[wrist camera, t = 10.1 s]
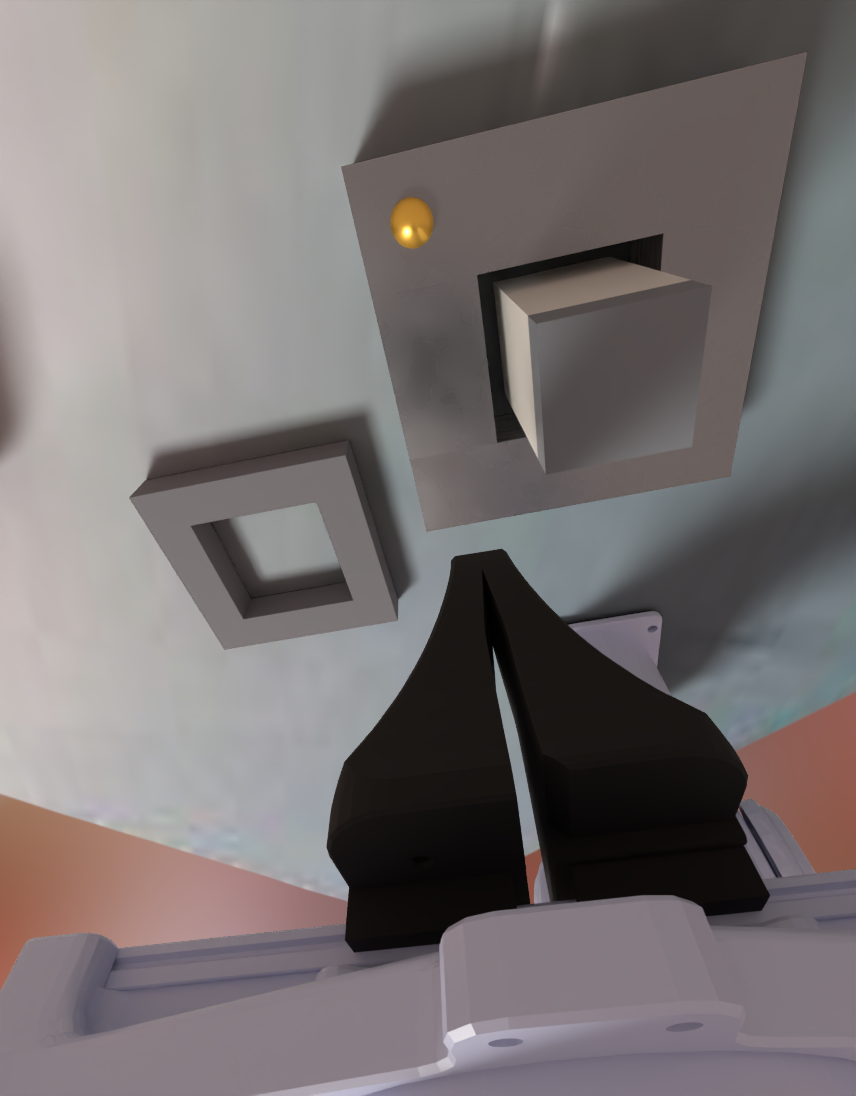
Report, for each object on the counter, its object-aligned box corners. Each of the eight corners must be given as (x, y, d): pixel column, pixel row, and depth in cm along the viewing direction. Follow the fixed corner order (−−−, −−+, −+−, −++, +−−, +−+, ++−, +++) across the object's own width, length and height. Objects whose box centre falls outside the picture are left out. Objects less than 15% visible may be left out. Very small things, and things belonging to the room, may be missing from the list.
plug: (606, 373, 19) (691, 446, 14) (505, 393, 20) (545, 474, 14) (609, 256, 17) (712, 285, 11) (493, 282, 17) (536, 323, 12)
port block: (698, 449, 21) (734, 479, 19) (424, 500, 22) (427, 535, 20) (750, 72, 14) (815, 48, 12) (349, 171, 15) (339, 166, 13)
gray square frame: (398, 600, 26) (397, 620, 24) (232, 628, 26) (224, 649, 25) (349, 439, 20) (345, 455, 19) (145, 480, 21) (129, 497, 20)
